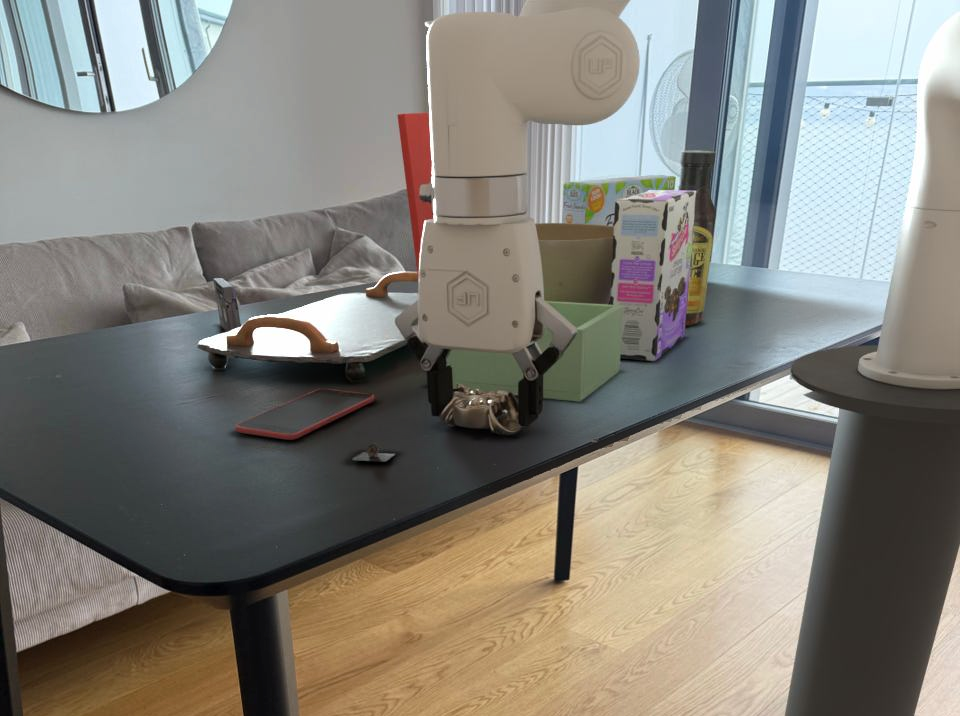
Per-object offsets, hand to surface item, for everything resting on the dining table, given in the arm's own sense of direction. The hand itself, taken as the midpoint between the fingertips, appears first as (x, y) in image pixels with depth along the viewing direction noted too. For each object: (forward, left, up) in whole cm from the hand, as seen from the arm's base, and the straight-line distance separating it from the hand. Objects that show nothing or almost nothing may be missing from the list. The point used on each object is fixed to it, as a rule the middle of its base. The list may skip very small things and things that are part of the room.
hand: (484, 416), depth 81 cm
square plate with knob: (+5, +11, -1) cm, 12 cm away
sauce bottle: (-5, -50, -1) cm, 50 cm away
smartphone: (+17, +3, -1) cm, 17 cm away
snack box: (+13, -79, -1) cm, 80 cm away
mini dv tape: (+50, -27, -1) cm, 57 cm away
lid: (+12, -17, +15) cm, 25 cm away
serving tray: (+29, -25, -1) cm, 38 cm away
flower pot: (+8, -37, -1) cm, 38 cm away
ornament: (0, 0, -1) cm, 1 cm away
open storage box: (+3, -17, -1) cm, 17 cm away
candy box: (-5, -35, -1) cm, 35 cm away
